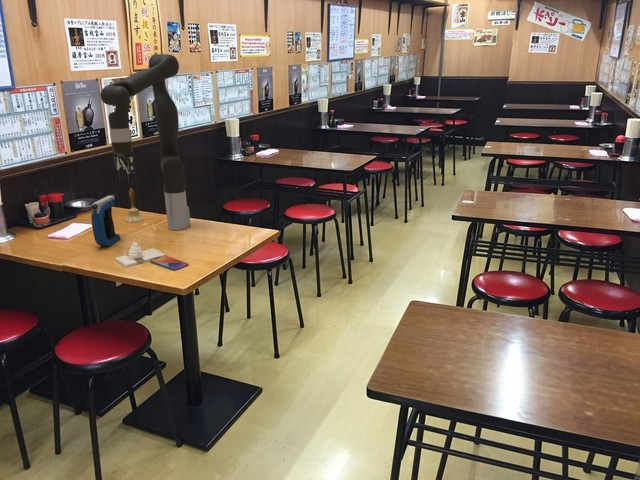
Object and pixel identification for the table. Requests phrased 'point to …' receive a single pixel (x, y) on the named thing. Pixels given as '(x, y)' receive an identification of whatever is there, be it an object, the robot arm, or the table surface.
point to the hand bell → (133, 210)
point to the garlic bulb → (135, 251)
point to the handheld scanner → (104, 221)
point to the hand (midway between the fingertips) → (127, 181)
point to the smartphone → (169, 263)
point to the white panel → (147, 256)
